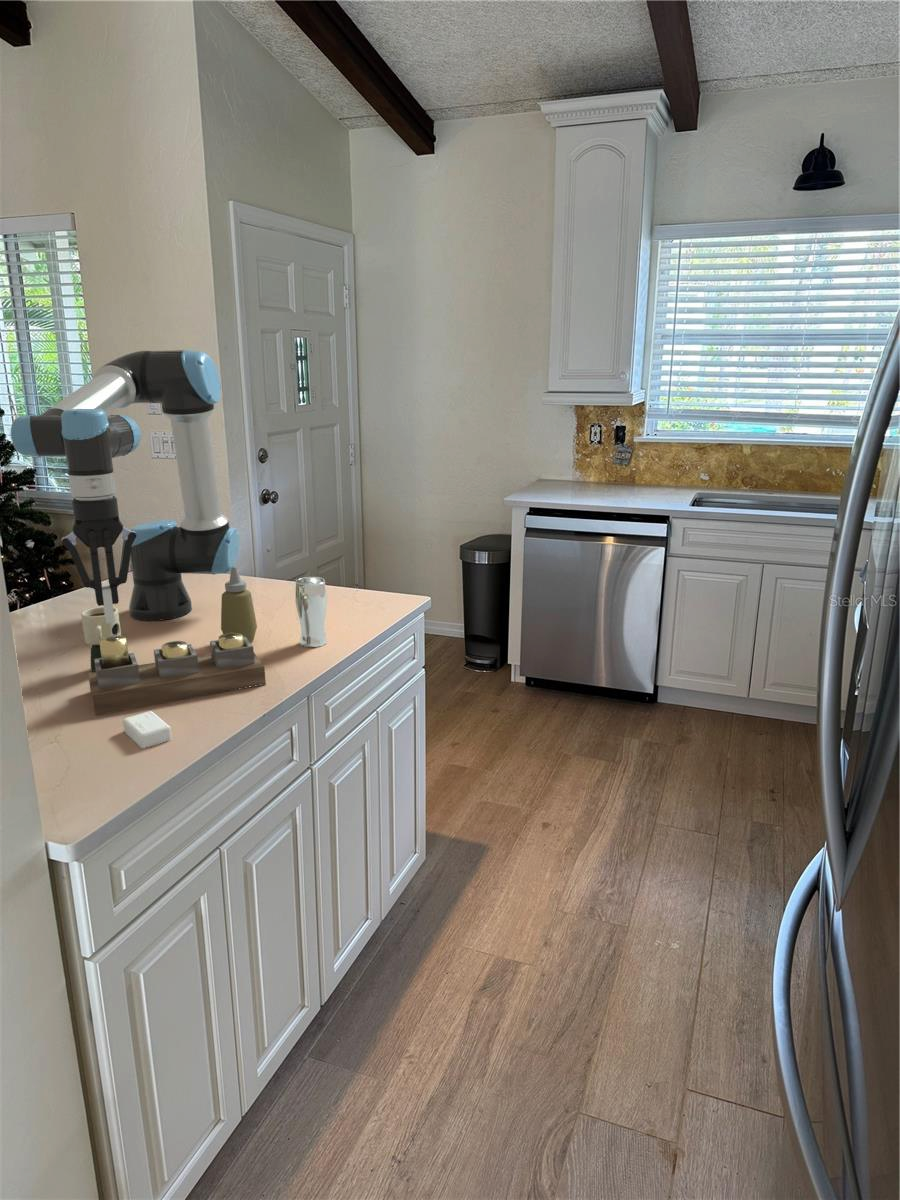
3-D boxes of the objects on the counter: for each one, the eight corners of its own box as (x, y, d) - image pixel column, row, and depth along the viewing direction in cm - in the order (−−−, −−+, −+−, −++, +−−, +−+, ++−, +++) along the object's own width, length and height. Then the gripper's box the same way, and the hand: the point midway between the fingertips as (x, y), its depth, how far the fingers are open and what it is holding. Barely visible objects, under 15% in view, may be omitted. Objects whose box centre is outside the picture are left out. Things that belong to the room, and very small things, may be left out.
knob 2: (218, 657, 170) (216, 634, 168) (241, 654, 172) (239, 630, 170) (223, 665, 166) (221, 641, 164) (247, 661, 168) (245, 637, 166)
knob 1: (101, 661, 159) (98, 636, 158) (127, 657, 161) (124, 632, 160) (103, 669, 155) (100, 644, 154) (130, 665, 157) (127, 640, 156)
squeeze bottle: (249, 649, 186) (243, 572, 180) (216, 647, 187) (209, 571, 182) (263, 637, 193) (258, 563, 188) (231, 635, 195) (225, 561, 190)
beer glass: (334, 640, 191) (331, 578, 187) (317, 650, 185) (314, 586, 181) (309, 636, 194) (306, 575, 190) (292, 645, 188) (288, 582, 184)
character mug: (123, 677, 171) (115, 618, 167) (85, 681, 169) (77, 621, 165) (127, 659, 181) (120, 602, 177) (92, 662, 179) (84, 605, 175)
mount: (90, 691, 163) (85, 656, 161) (251, 664, 177) (248, 631, 175) (95, 715, 153) (90, 677, 151) (265, 684, 167) (263, 649, 165)
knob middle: (162, 666, 165) (159, 642, 163) (187, 662, 167) (184, 638, 165) (166, 675, 161) (163, 650, 159) (191, 670, 163) (189, 646, 161)
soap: (173, 741, 144) (171, 725, 143) (142, 751, 140) (140, 735, 139) (153, 724, 150) (151, 709, 149) (123, 733, 147) (121, 717, 146)
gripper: (55, 502, 143) (73, 631, 150) (134, 497, 148) (148, 621, 155) (53, 496, 149) (71, 620, 156) (130, 490, 155) (143, 610, 162)
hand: (110, 620), depth 156 cm, fingers closed
